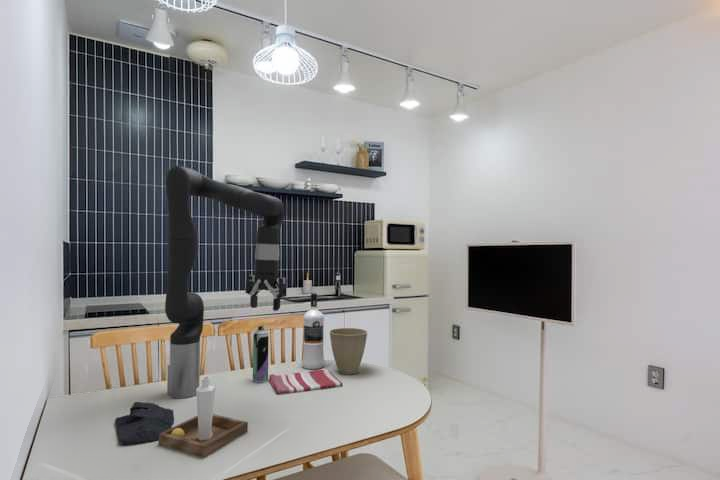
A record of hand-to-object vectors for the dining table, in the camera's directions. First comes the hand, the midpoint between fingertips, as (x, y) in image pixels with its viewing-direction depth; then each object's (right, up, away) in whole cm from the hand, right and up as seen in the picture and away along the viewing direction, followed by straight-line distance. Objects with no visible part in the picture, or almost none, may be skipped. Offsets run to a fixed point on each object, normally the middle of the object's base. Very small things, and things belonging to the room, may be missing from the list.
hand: (264, 309), depth 134 cm
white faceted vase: (-9, -29, -27) cm, 40 cm away
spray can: (-6, -30, +20) cm, 36 cm away
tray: (-9, -29, -27) cm, 41 cm away
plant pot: (+26, -30, +32) cm, 51 cm away
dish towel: (+10, -30, +18) cm, 37 cm away
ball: (-15, -28, -29) cm, 43 cm away
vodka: (+11, -30, +38) cm, 50 cm away
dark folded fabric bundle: (-28, -30, -21) cm, 45 cm away
